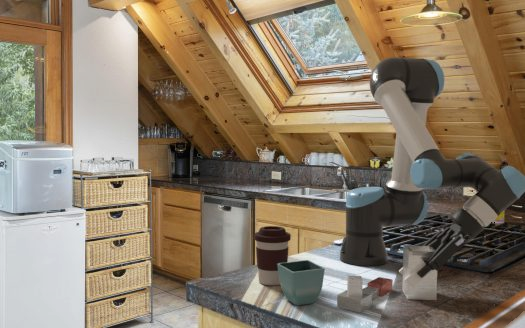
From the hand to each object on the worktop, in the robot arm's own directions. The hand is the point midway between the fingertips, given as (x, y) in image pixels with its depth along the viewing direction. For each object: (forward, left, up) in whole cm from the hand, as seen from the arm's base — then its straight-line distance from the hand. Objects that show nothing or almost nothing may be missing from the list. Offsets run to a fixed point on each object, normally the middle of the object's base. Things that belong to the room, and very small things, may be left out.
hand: (405, 279), depth 132 cm
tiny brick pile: (-6, -9, -4) cm, 11 cm away
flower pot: (-18, -21, -4) cm, 28 cm away
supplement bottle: (-7, +129, -4) cm, 129 cm away
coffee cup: (-33, -12, -4) cm, 35 cm away
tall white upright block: (+3, +2, -4) cm, 5 cm away
